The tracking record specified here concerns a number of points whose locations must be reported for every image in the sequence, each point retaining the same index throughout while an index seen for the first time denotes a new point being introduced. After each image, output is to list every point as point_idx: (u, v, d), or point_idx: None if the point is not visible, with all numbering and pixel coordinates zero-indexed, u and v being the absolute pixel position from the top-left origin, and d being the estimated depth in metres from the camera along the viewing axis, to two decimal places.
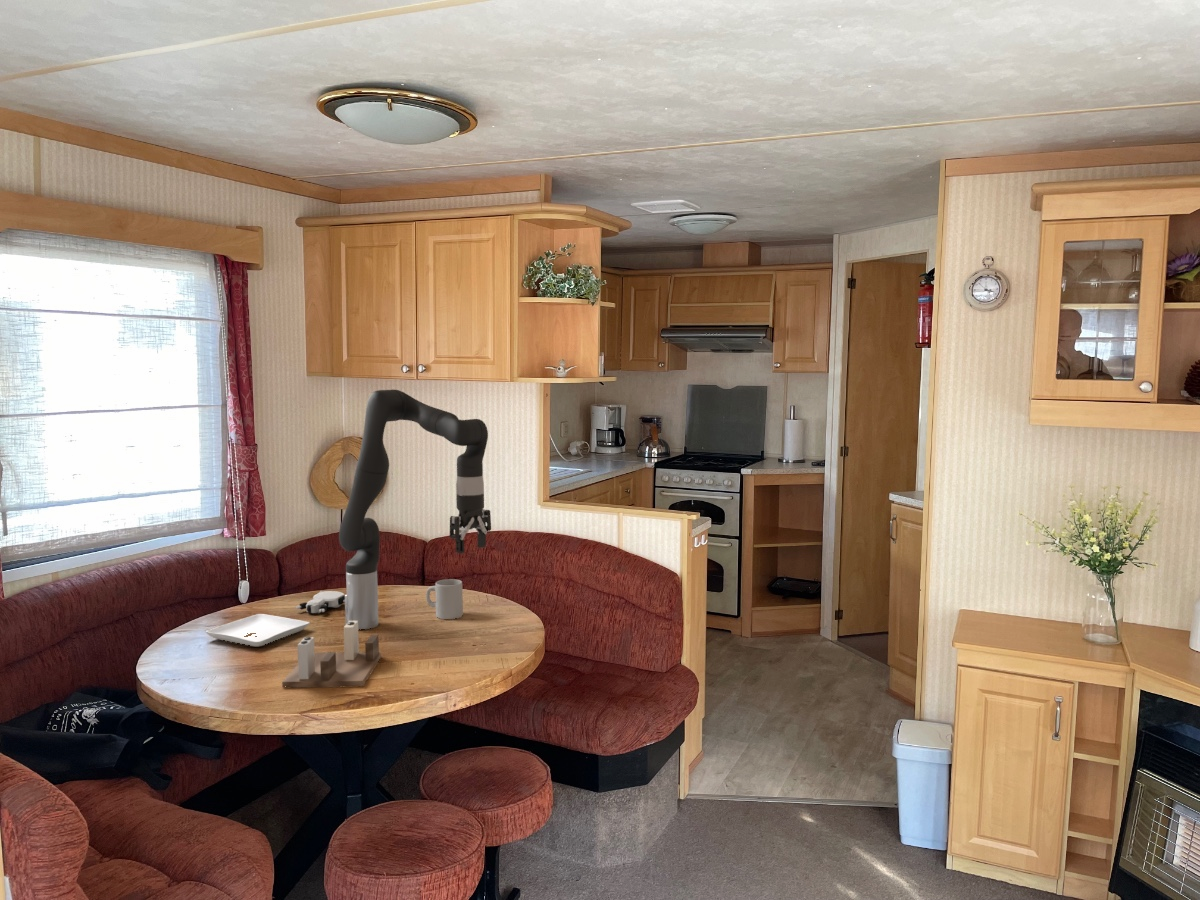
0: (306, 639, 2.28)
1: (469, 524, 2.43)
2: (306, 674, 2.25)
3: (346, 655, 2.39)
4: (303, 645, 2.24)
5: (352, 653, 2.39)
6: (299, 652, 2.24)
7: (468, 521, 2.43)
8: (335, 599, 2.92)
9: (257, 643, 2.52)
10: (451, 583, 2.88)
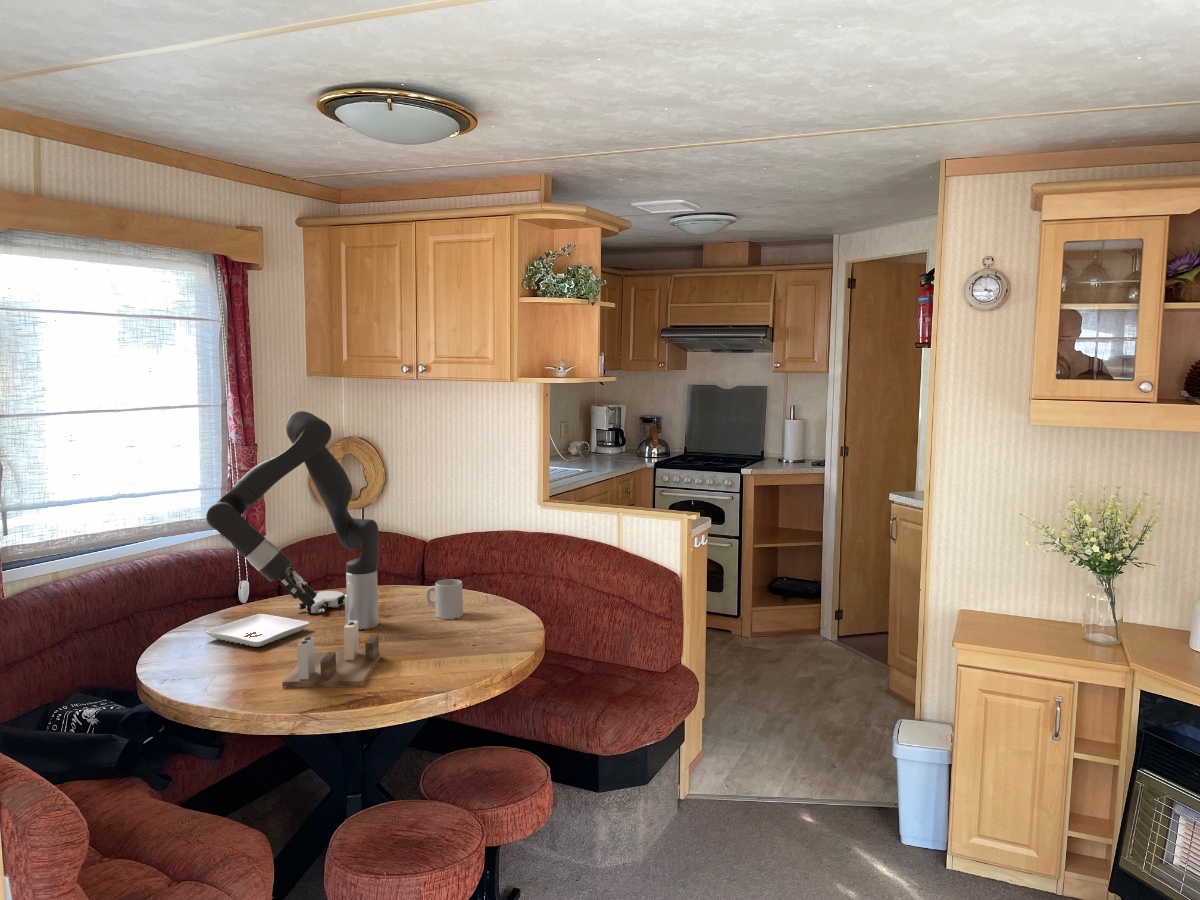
0: (306, 639, 2.28)
1: None
2: (306, 674, 2.25)
3: (346, 655, 2.39)
4: (303, 645, 2.24)
5: (352, 653, 2.39)
6: (299, 652, 2.24)
7: None
8: (335, 599, 2.92)
9: (257, 643, 2.52)
10: (451, 583, 2.88)
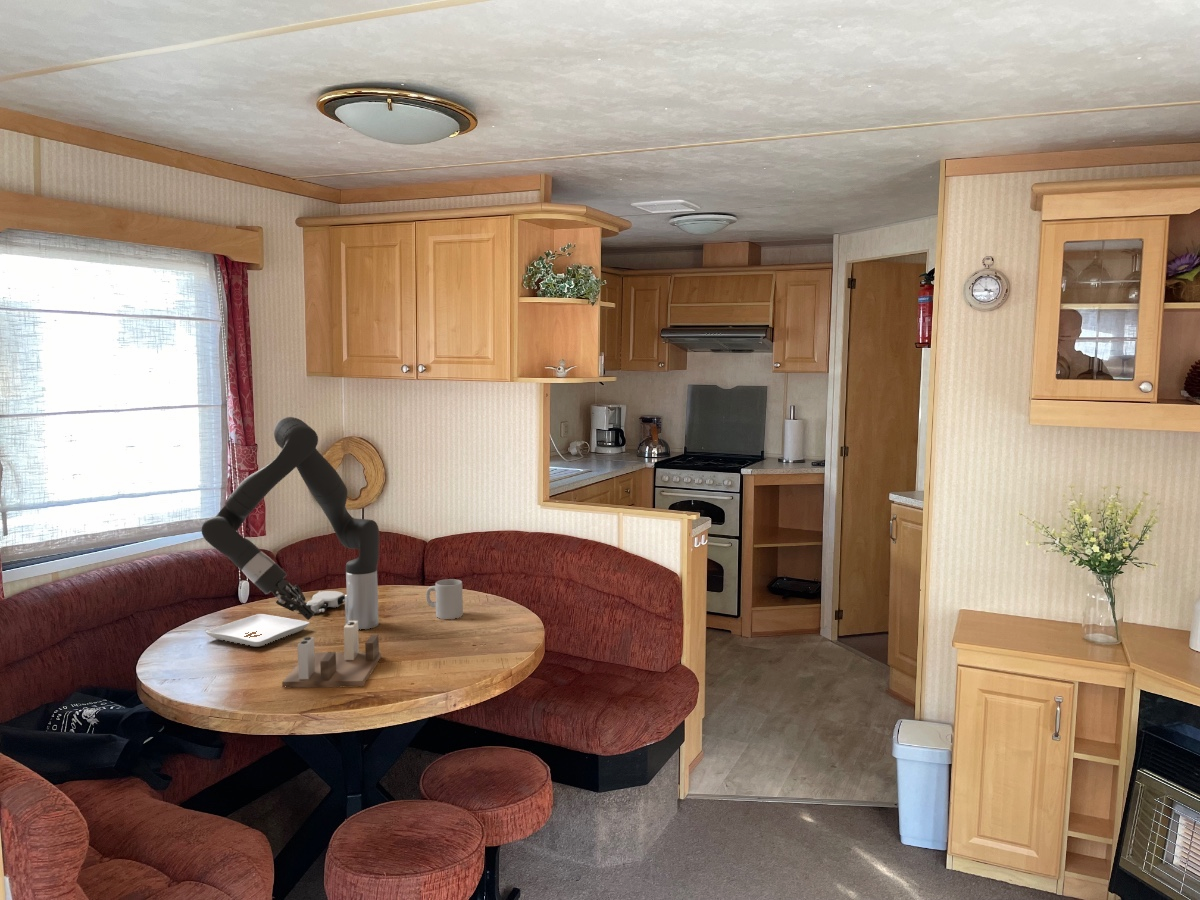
0: (306, 639, 2.28)
1: None
2: (306, 674, 2.25)
3: (346, 655, 2.39)
4: (303, 645, 2.24)
5: (352, 653, 2.39)
6: (299, 652, 2.24)
7: None
8: (335, 599, 2.92)
9: (257, 643, 2.52)
10: (451, 583, 2.88)
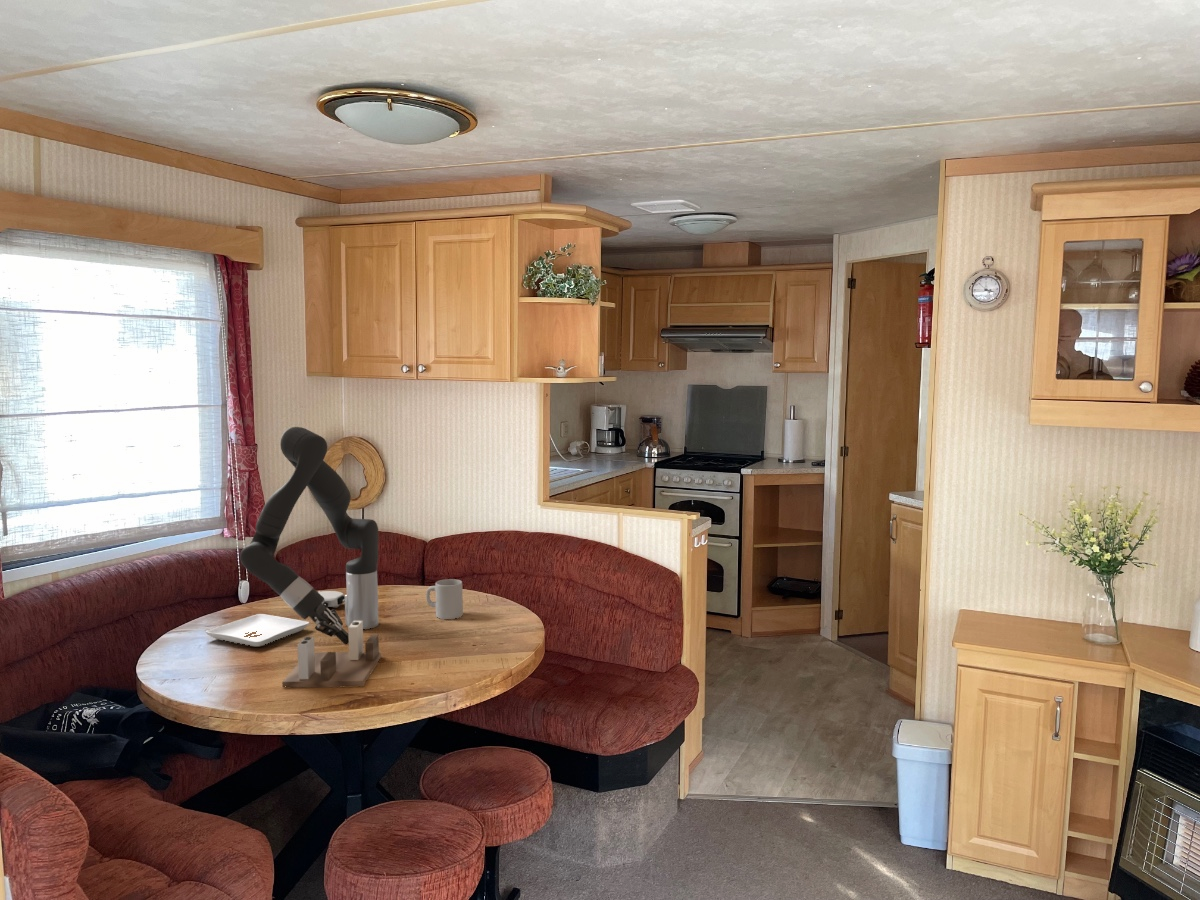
0: (306, 639, 2.28)
1: None
2: (306, 674, 2.25)
3: (351, 655, 2.39)
4: (303, 645, 2.24)
5: (357, 653, 2.39)
6: (299, 652, 2.24)
7: None
8: (334, 599, 2.92)
9: (257, 643, 2.52)
10: (451, 583, 2.88)
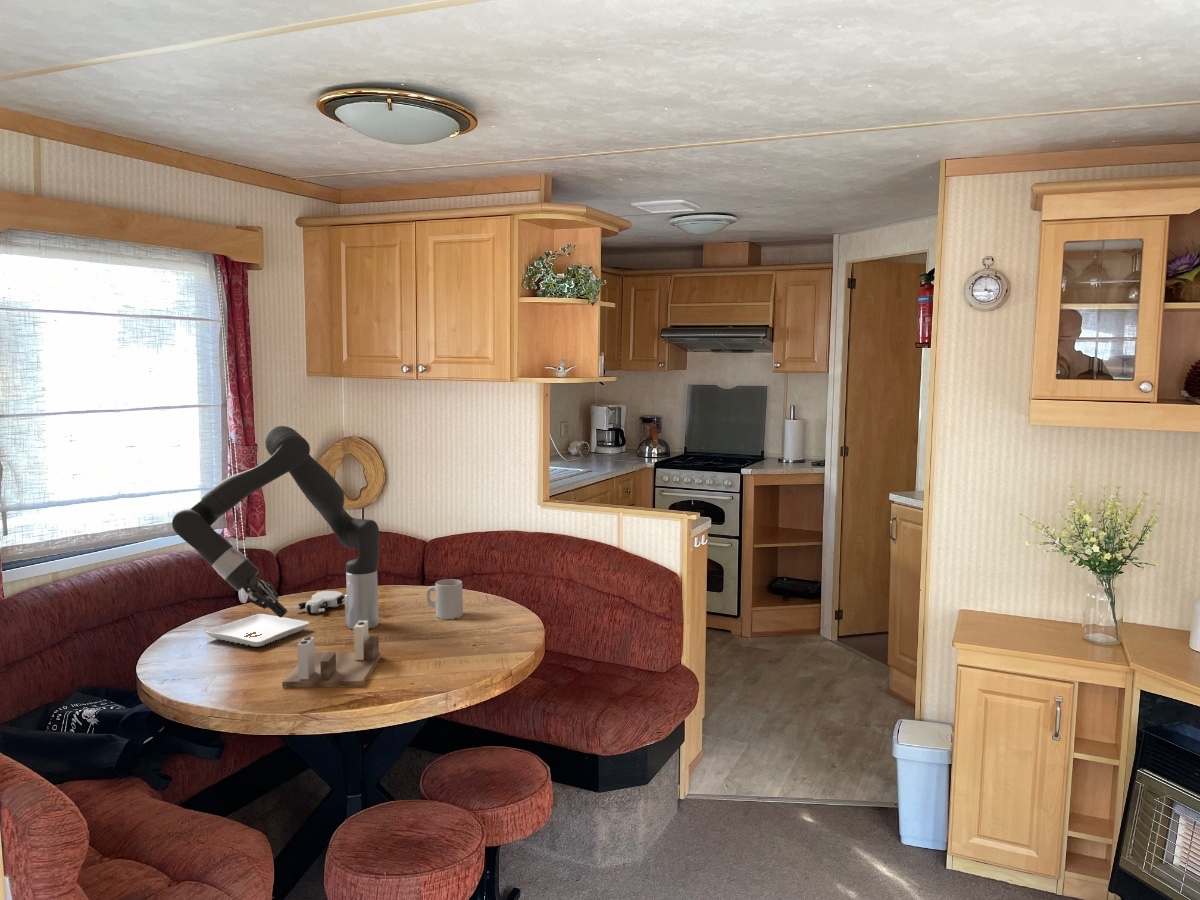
0: (306, 639, 2.28)
1: None
2: (306, 674, 2.25)
3: (356, 655, 2.39)
4: (303, 645, 2.24)
5: (362, 653, 2.39)
6: (299, 652, 2.24)
7: None
8: (334, 599, 2.92)
9: (257, 643, 2.52)
10: (451, 583, 2.88)
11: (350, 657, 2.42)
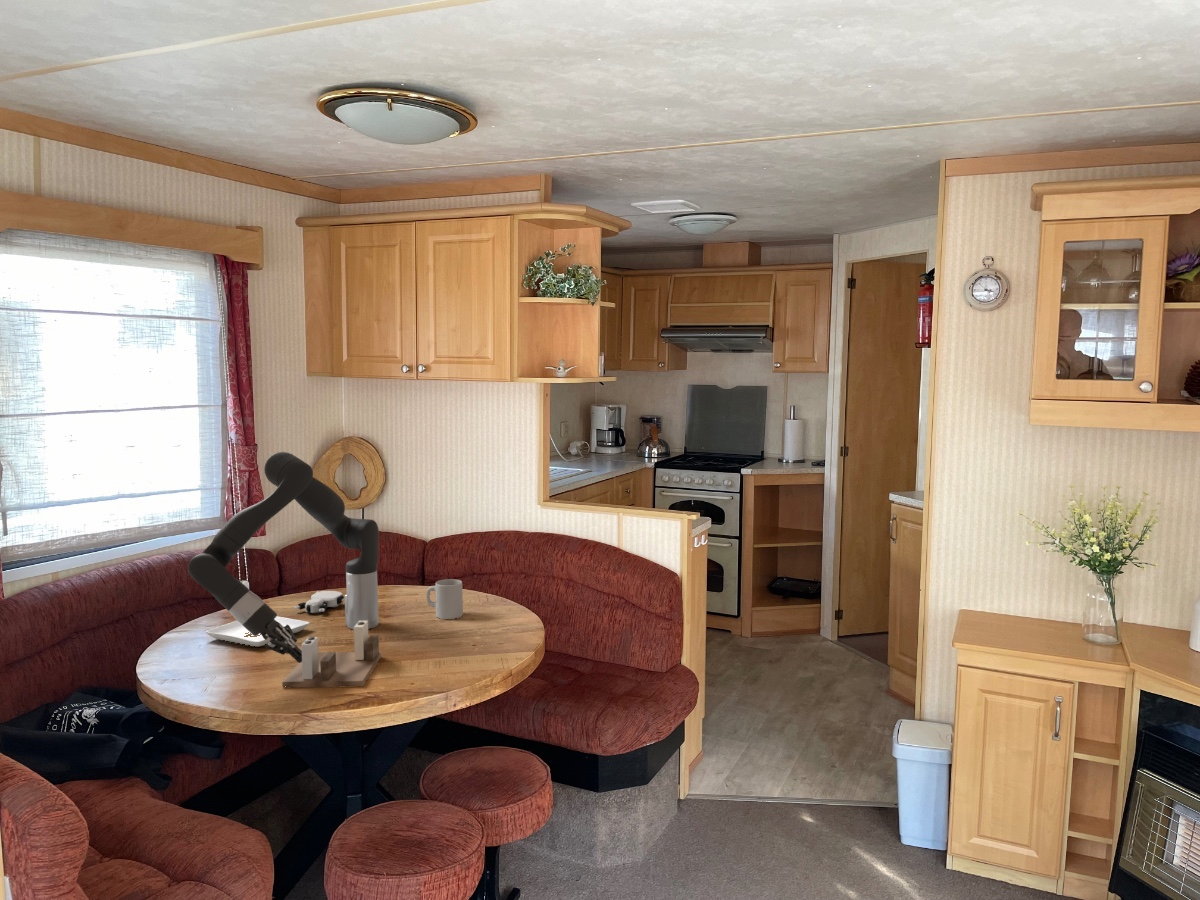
0: (310, 639, 2.28)
1: None
2: (310, 674, 2.25)
3: (356, 655, 2.39)
4: (307, 645, 2.24)
5: (362, 653, 2.39)
6: (303, 652, 2.24)
7: None
8: (334, 599, 2.93)
9: (257, 643, 2.52)
10: (451, 583, 2.88)
11: (350, 657, 2.42)
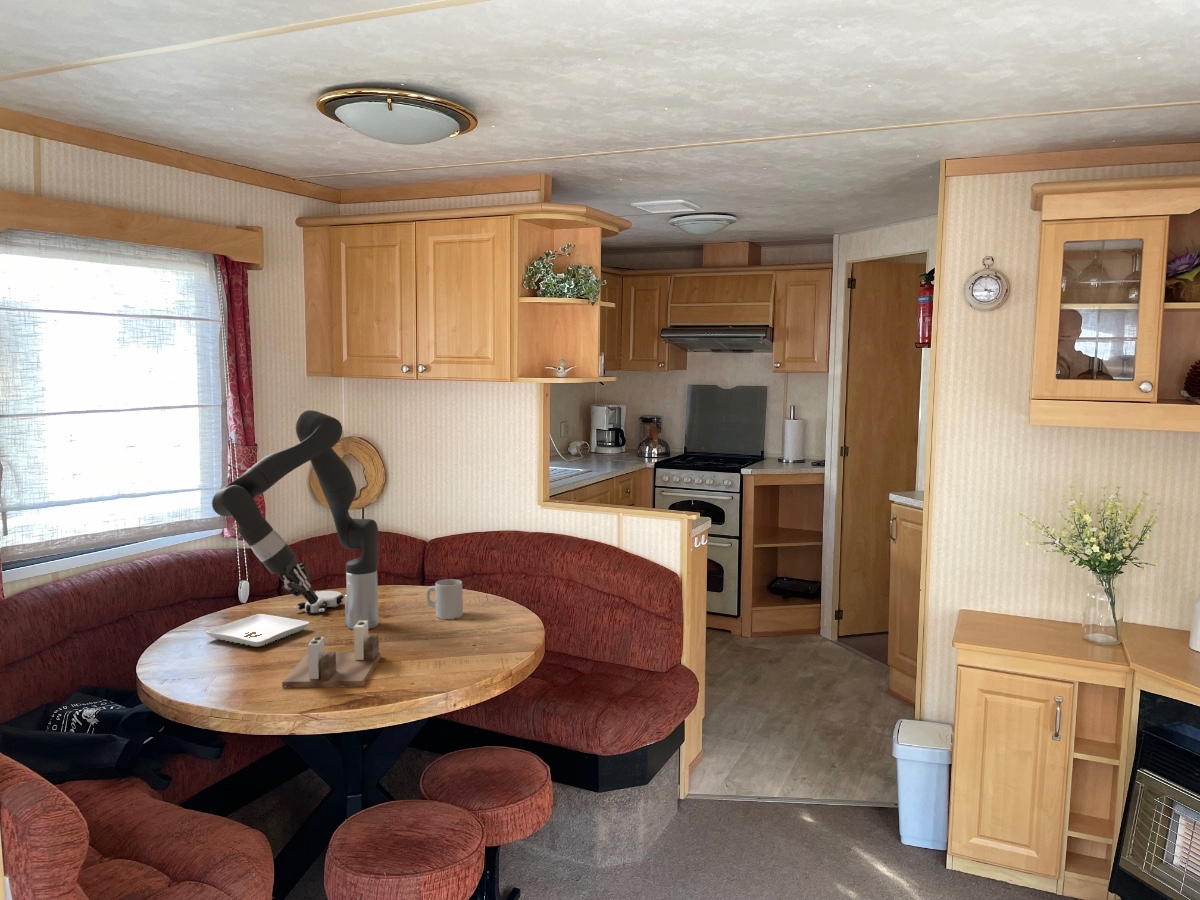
0: (316, 639, 2.28)
1: None
2: (316, 674, 2.25)
3: (356, 655, 2.39)
4: (313, 645, 2.24)
5: (362, 653, 2.39)
6: (309, 652, 2.25)
7: None
8: (333, 598, 2.93)
9: (257, 643, 2.52)
10: (451, 583, 2.88)
11: (350, 657, 2.42)
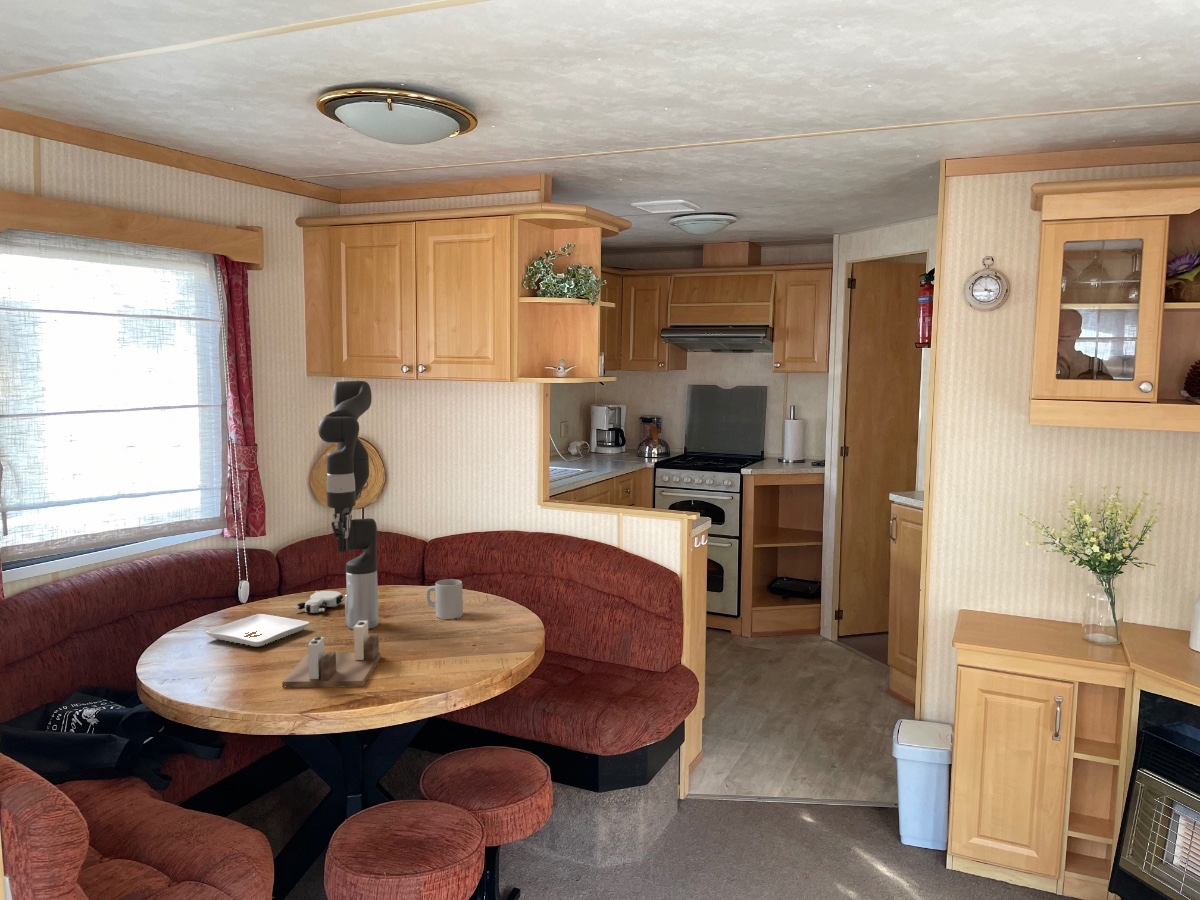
0: (316, 639, 2.28)
1: None
2: (316, 674, 2.25)
3: (356, 655, 2.39)
4: (313, 645, 2.24)
5: (362, 653, 2.39)
6: (309, 652, 2.25)
7: None
8: (333, 598, 2.93)
9: (257, 643, 2.52)
10: (451, 583, 2.88)
11: (350, 657, 2.42)
